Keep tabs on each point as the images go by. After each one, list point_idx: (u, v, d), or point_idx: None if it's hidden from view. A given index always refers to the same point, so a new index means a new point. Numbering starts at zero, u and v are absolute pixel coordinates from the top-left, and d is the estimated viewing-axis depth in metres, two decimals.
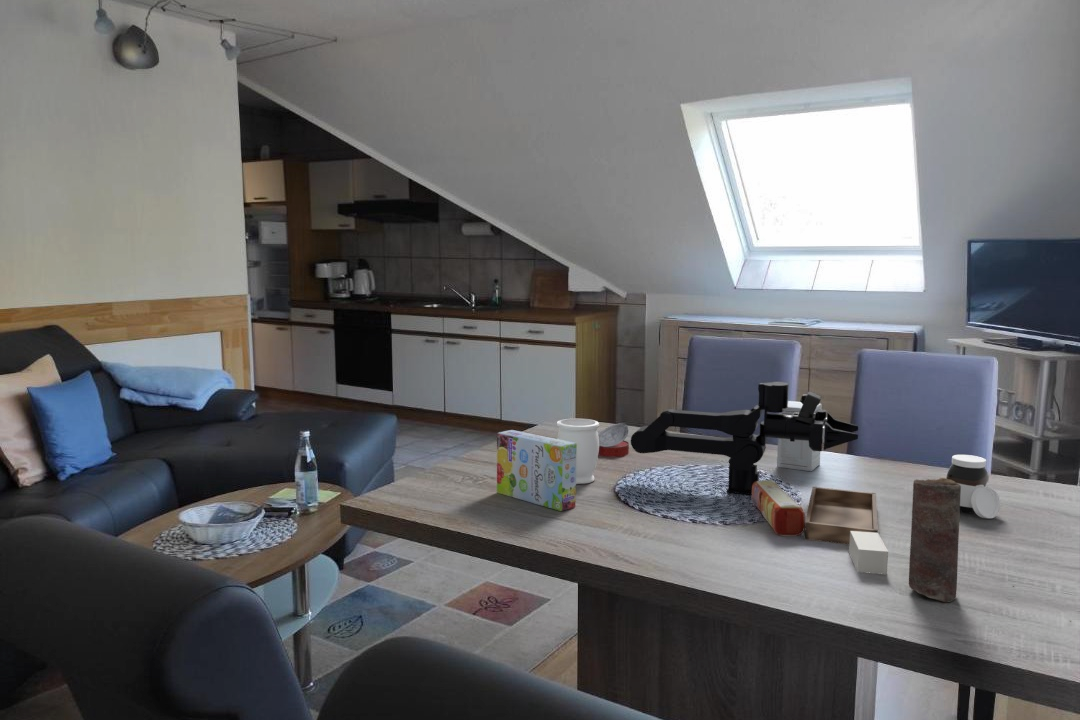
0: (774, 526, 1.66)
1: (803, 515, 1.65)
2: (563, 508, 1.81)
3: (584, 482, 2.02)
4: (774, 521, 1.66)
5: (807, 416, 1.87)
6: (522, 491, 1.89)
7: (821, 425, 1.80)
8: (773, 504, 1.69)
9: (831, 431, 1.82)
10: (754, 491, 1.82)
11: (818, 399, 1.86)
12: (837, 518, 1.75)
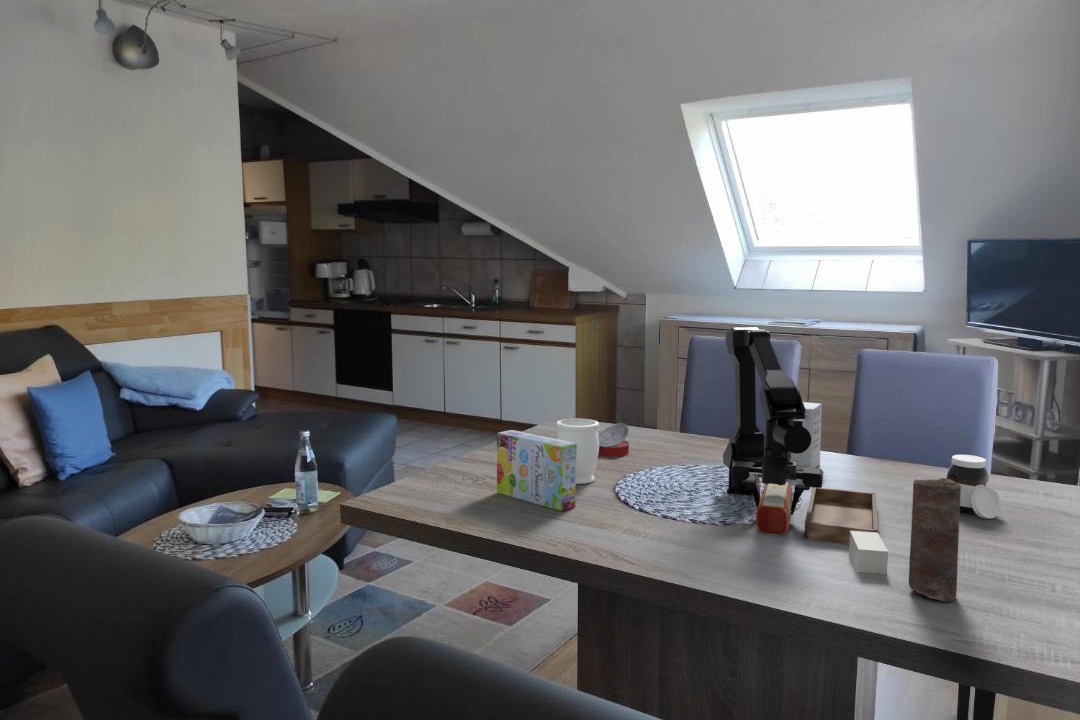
0: (756, 523, 1.67)
1: (786, 515, 1.65)
2: (563, 508, 1.81)
3: (584, 482, 2.02)
4: (756, 518, 1.67)
5: (762, 465, 1.72)
6: (522, 491, 1.89)
7: (732, 477, 1.76)
8: (760, 502, 1.70)
9: None
10: None
11: (763, 481, 1.69)
12: (837, 518, 1.75)
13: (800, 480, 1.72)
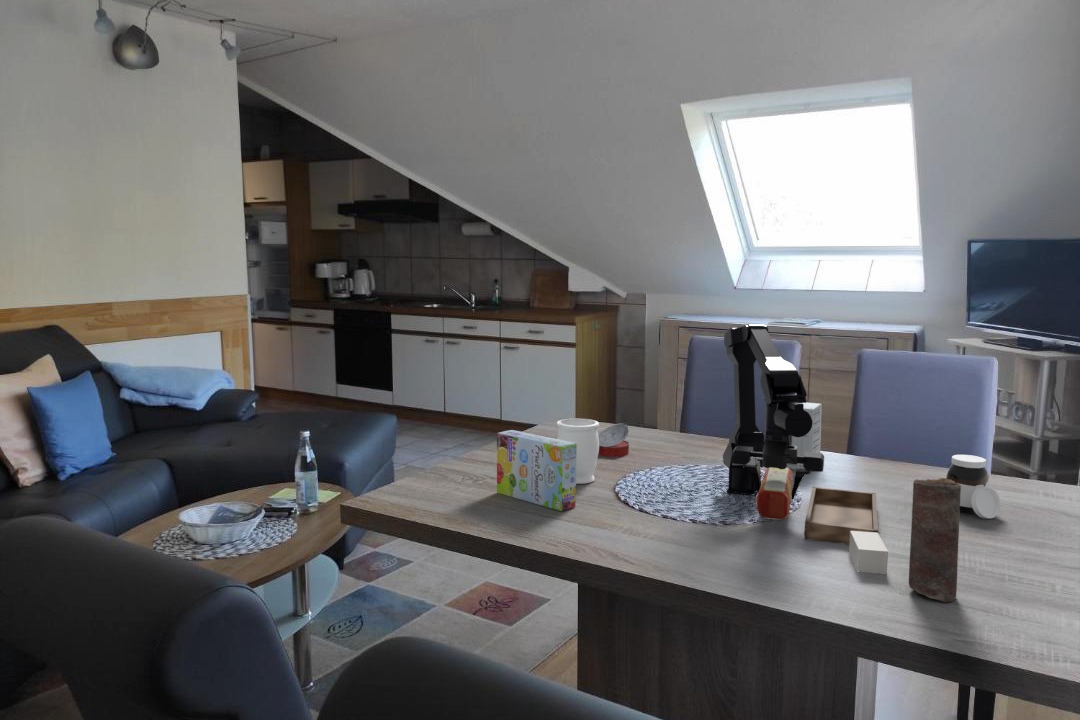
0: (757, 508, 1.67)
1: (787, 500, 1.65)
2: (563, 508, 1.81)
3: (584, 482, 2.02)
4: (757, 503, 1.67)
5: (763, 450, 1.72)
6: (522, 491, 1.89)
7: (732, 461, 1.75)
8: (761, 486, 1.69)
9: None
10: None
11: (763, 465, 1.68)
12: (837, 518, 1.75)
13: (801, 464, 1.72)
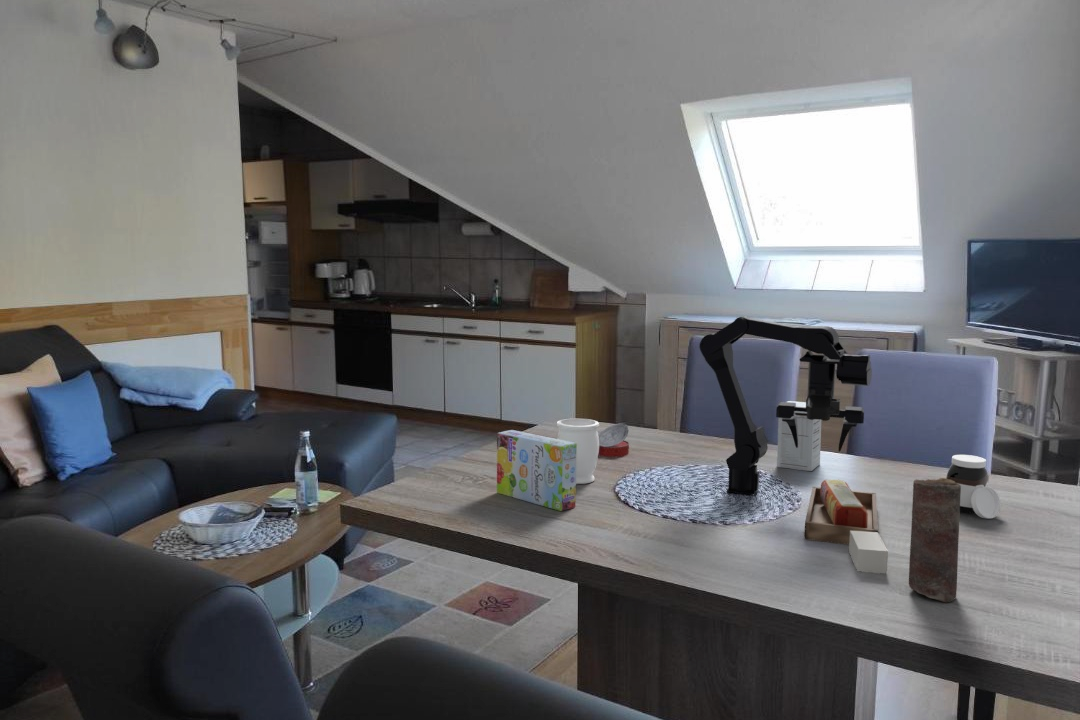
0: (835, 524, 1.64)
1: (865, 515, 1.63)
2: (563, 508, 1.81)
3: (584, 482, 2.02)
4: (835, 519, 1.64)
5: (806, 404, 1.83)
6: (522, 491, 1.89)
7: (777, 416, 1.86)
8: (835, 502, 1.67)
9: None
10: (822, 490, 1.81)
11: (808, 417, 1.79)
12: None
13: None
